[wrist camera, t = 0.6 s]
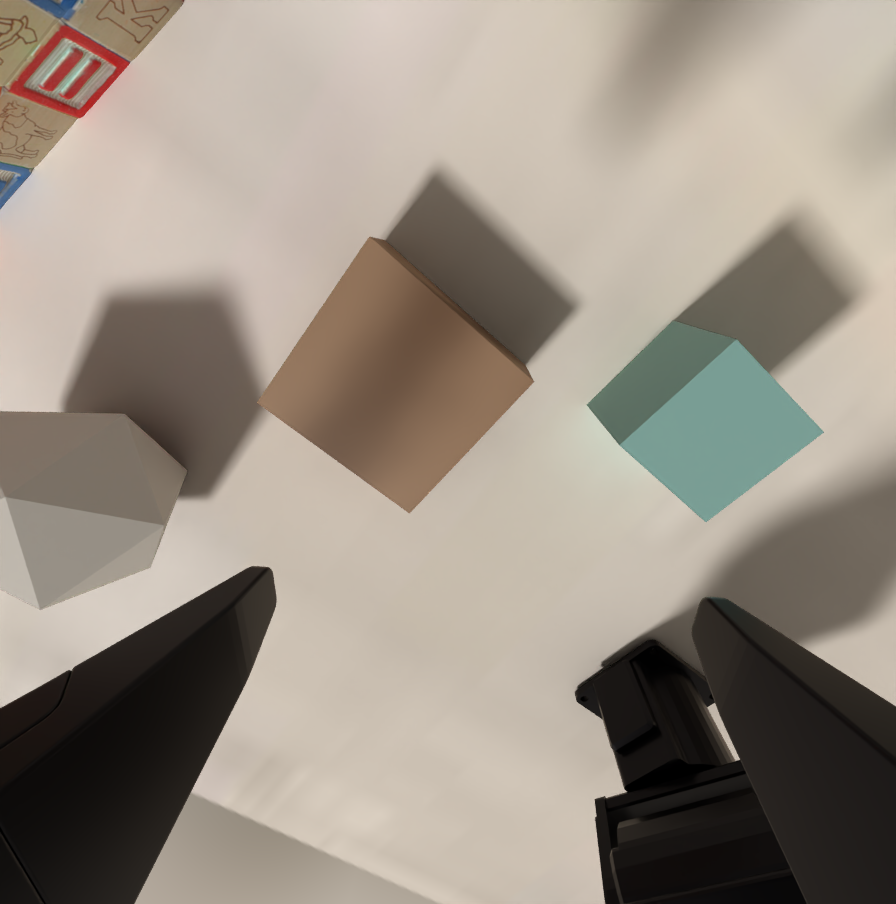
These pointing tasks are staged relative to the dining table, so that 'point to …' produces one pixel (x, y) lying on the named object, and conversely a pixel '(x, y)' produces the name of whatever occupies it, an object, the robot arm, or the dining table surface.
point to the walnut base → (394, 377)
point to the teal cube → (702, 417)
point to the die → (79, 502)
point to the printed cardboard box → (62, 69)
